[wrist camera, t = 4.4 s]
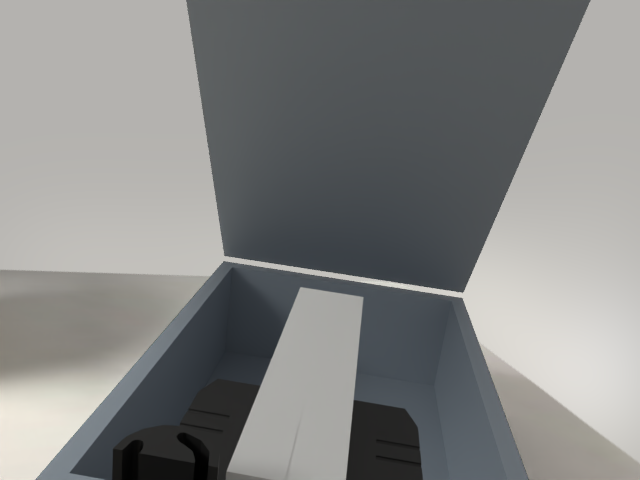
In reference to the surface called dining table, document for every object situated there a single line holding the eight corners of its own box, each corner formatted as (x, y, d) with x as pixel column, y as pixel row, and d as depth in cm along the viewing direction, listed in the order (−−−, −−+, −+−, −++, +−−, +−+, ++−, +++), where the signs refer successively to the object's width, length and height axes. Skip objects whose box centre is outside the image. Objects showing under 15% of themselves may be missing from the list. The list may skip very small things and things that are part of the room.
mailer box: (216, 354, 40) (223, 261, 38) (442, 391, 39) (462, 298, 37) (34, 657, 19) (29, 486, 17) (512, 756, 18) (567, 585, 16)
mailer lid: (224, 255, 38) (227, 247, 39) (463, 292, 37) (463, 283, 38) (171, -102, 21) (177, -110, 21) (613, -52, 20) (609, -61, 20)
